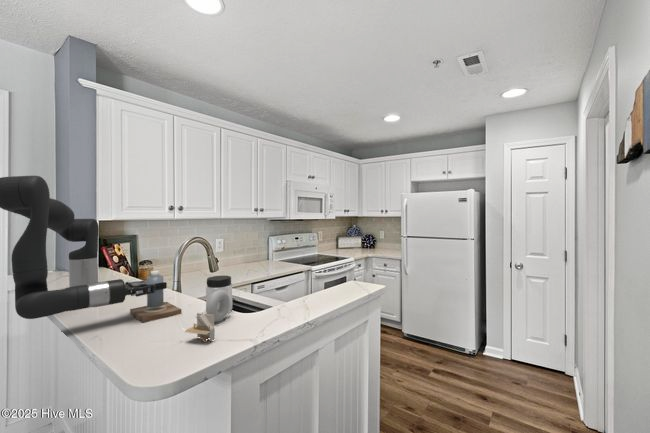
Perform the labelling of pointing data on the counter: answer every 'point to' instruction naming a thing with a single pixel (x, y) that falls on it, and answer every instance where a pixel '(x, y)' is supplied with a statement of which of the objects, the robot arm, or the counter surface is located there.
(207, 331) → the architectural model
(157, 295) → the bottle
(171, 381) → the counter surface
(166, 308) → the walnut board
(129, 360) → the counter surface
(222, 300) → the donut
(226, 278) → the jar
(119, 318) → the counter surface
